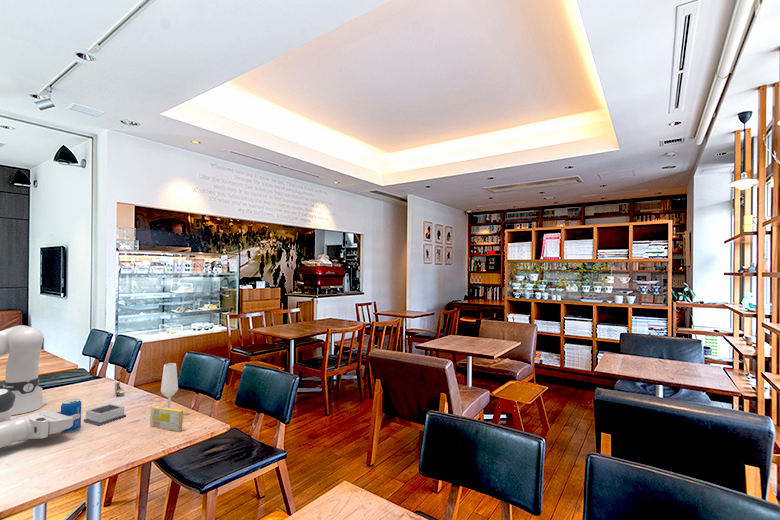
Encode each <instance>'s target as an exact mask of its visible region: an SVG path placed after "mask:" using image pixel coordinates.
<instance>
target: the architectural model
mask: <svg viewBox="0 0 780 520" xmlns="http://www.w3.org/2000/svg"><path fill="white" fill-rule="evenodd" d="M120 383H121V382H120V381H118V382H117V381H114V397H115V396H116V397H117V396H119V395H120V392H124V391H125V389H124V387H122V386H121V385H120ZM118 394H119V395H118Z"/></svg>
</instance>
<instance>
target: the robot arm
mask: <svg viewBox="0 0 780 520" xmlns="http://www.w3.org/2000/svg"><path fill="white" fill-rule="evenodd" d="M43 342H44V335H43V332H41V330H39V329H37V328H36V327H32V326H28V325H22V324H21V325H15V326H11V327H9V328H5V329H2V330H0V357H2V356H5V355H7V354H8V357H7V361H6V363H5V381H3V385H2V388H0V449H2V448H4V447H7V446H10V445H12V444H13V443H18V442H23V441H27V440H32V439H44V438H45V439H46V438H48V436H49V435H53V434H56V433H59V432H61V431H63V430H65V429H68V428H70V427H72V426H73V421H74V420H75V419H78V418H80V414H79V413H76V414H73V415H72V416H67V415H63V414H61V410H59V411H52V410H49V409H44V410H40V409H41V408H42V407H44V405H47V401H44V393H43V388H42V387H41V386H39V385H40V376H39V362H40V361H39V360H40V356H41V352H42V348H43V347H42V345H43ZM38 409H39V410H40V411H37V412H33V411H36V410H38ZM30 412H33V413H30ZM26 413H30V414H26ZM22 414H25V415H22ZM14 415H15V416H16V415H22V416H18V417H16V418H15V419H11V417H12V416H14Z"/></svg>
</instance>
